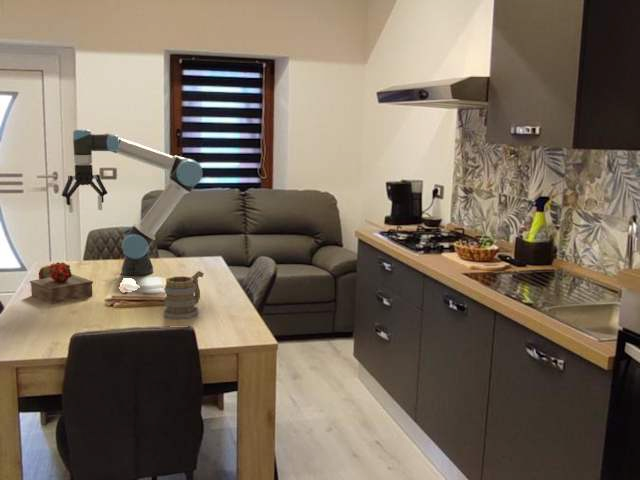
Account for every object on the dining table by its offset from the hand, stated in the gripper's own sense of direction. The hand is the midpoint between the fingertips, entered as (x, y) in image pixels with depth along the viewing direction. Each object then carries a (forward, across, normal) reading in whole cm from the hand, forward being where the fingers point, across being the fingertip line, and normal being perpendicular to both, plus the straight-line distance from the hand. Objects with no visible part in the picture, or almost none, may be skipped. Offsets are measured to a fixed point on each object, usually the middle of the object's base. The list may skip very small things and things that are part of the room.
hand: (85, 211), depth 298 cm
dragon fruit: (+26, +20, +19) cm, 38 cm away
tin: (+33, +15, -7) cm, 37 cm away
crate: (+33, +19, +19) cm, 43 cm away
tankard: (+33, -10, +73) cm, 81 cm away
